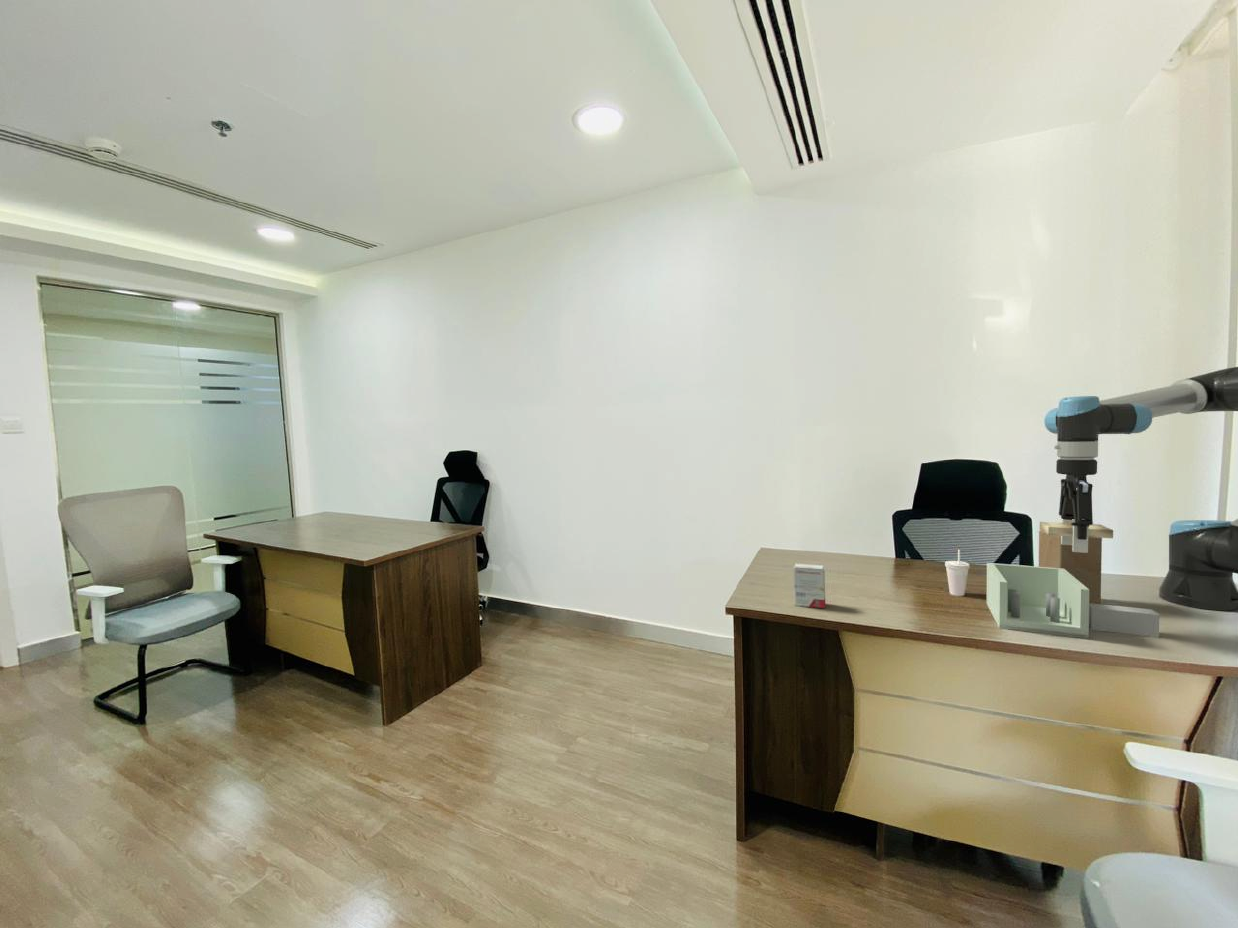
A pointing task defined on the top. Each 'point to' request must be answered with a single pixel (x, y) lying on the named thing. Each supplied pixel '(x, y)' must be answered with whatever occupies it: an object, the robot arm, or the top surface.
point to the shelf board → (1067, 530)
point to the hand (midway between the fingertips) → (1073, 548)
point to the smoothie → (957, 576)
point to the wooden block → (1074, 561)
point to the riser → (1124, 620)
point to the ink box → (809, 585)
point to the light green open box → (1038, 600)
